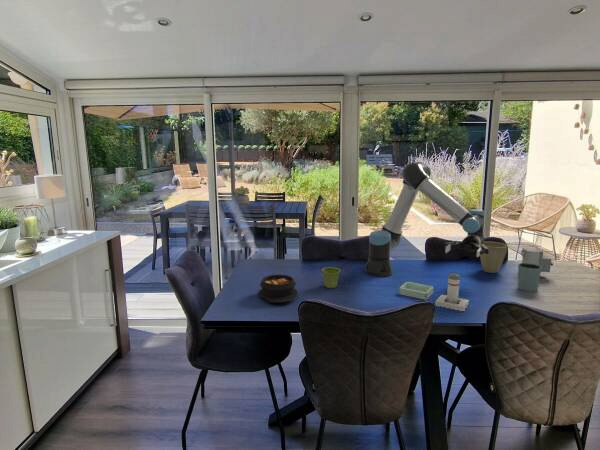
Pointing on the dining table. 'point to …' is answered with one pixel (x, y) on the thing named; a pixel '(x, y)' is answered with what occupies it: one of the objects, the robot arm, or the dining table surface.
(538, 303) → the dining table surface
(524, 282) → the teal cylinder
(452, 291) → the fuse
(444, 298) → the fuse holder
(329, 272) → the plant pot
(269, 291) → the casserole
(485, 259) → the plant pot
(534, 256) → the circuit breaker
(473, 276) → the dining table surface
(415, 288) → the parts tray
